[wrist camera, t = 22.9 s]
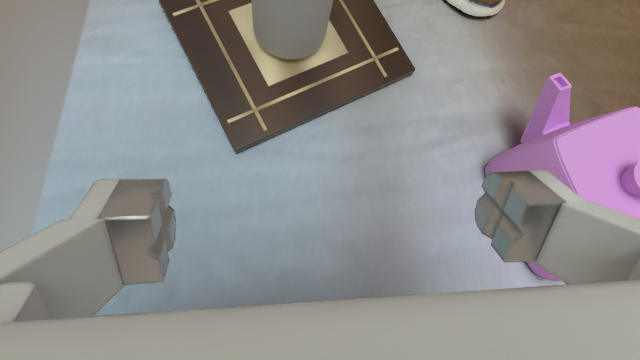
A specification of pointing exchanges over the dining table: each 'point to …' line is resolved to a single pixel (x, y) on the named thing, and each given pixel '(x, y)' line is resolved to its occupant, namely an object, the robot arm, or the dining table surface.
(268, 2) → the beverage can
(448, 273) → the dining table surface
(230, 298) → the dining table surface
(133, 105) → the dining table surface
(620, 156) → the teapot
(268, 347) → the robot arm
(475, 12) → the dessert
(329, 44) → the board
